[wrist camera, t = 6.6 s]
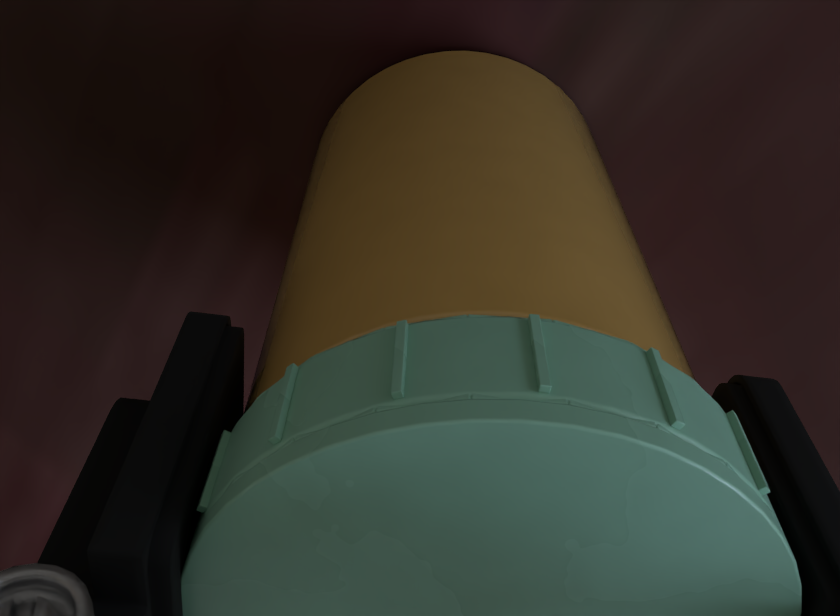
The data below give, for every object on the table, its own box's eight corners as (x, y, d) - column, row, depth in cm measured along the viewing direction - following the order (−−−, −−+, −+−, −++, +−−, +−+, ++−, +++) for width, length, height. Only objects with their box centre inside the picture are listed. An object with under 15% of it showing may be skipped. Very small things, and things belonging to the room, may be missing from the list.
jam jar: (533, 334, 20) (610, 769, 11) (286, 269, 19) (169, 697, 10) (650, 103, 16) (891, 488, 8) (353, 6, 15) (259, 333, 7)
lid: (272, 231, 8) (236, 331, 6) (876, 406, 9) (954, 522, 7) (176, 619, 11) (141, 731, 10) (604, 706, 12) (623, 817, 11)
